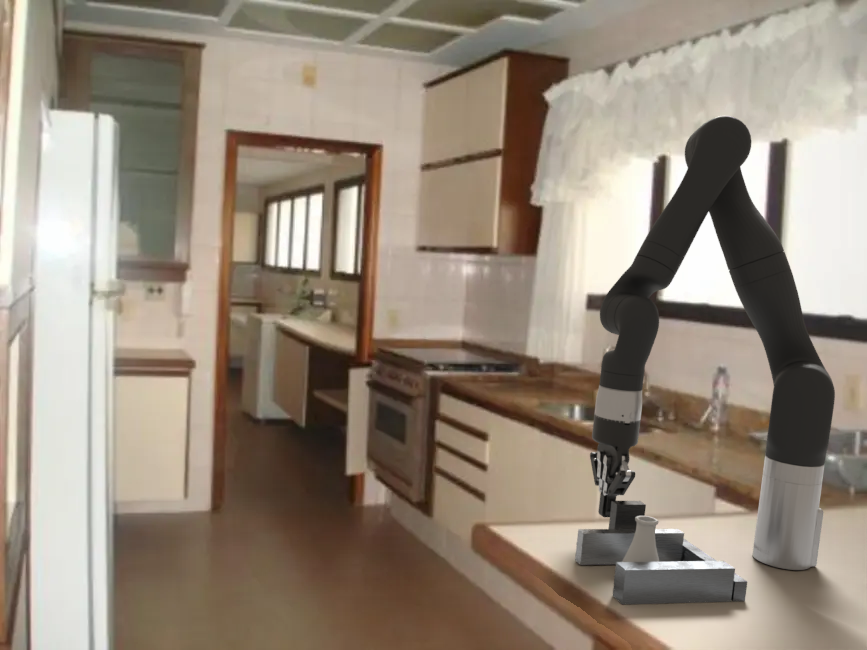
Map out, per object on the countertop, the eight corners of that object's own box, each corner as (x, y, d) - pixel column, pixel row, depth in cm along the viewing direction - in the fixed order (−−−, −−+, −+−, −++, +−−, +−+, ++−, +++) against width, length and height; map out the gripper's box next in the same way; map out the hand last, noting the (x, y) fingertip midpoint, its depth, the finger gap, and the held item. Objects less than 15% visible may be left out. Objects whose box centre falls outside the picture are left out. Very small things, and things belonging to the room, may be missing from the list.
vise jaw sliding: (668, 554, 156) (674, 501, 155) (680, 563, 152) (687, 508, 151) (570, 555, 151) (575, 500, 150) (580, 564, 148) (586, 508, 147)
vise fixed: (679, 554, 157) (682, 524, 157) (744, 601, 139) (749, 568, 138) (568, 555, 152) (571, 525, 151) (621, 604, 134) (625, 570, 133)
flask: (636, 595, 138) (644, 528, 137) (605, 576, 144) (612, 512, 143) (674, 590, 141) (682, 524, 140) (642, 572, 147) (649, 509, 146)
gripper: (580, 405, 163) (569, 503, 165) (614, 422, 150) (602, 529, 152) (620, 406, 165) (609, 503, 166) (657, 424, 152) (644, 529, 154)
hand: (606, 515), depth 159 cm, fingers closed
